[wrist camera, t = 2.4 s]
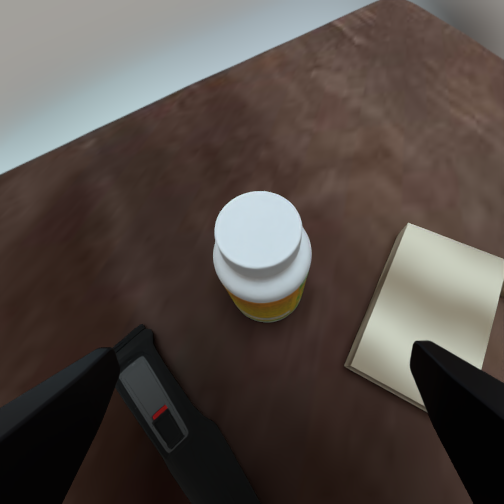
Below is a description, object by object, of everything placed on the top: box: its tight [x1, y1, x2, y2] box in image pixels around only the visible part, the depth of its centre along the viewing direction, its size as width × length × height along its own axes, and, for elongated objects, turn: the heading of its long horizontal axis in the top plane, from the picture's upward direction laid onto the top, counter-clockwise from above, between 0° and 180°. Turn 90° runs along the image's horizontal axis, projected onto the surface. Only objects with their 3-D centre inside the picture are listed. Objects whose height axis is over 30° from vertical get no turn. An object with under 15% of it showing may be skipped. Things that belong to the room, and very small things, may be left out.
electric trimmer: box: [113, 324, 261, 504], centre depth 17 cm, size 4×16×3 cm, turn 42°
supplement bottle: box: [213, 191, 312, 322], centre depth 17 cm, size 5×5×10 cm
